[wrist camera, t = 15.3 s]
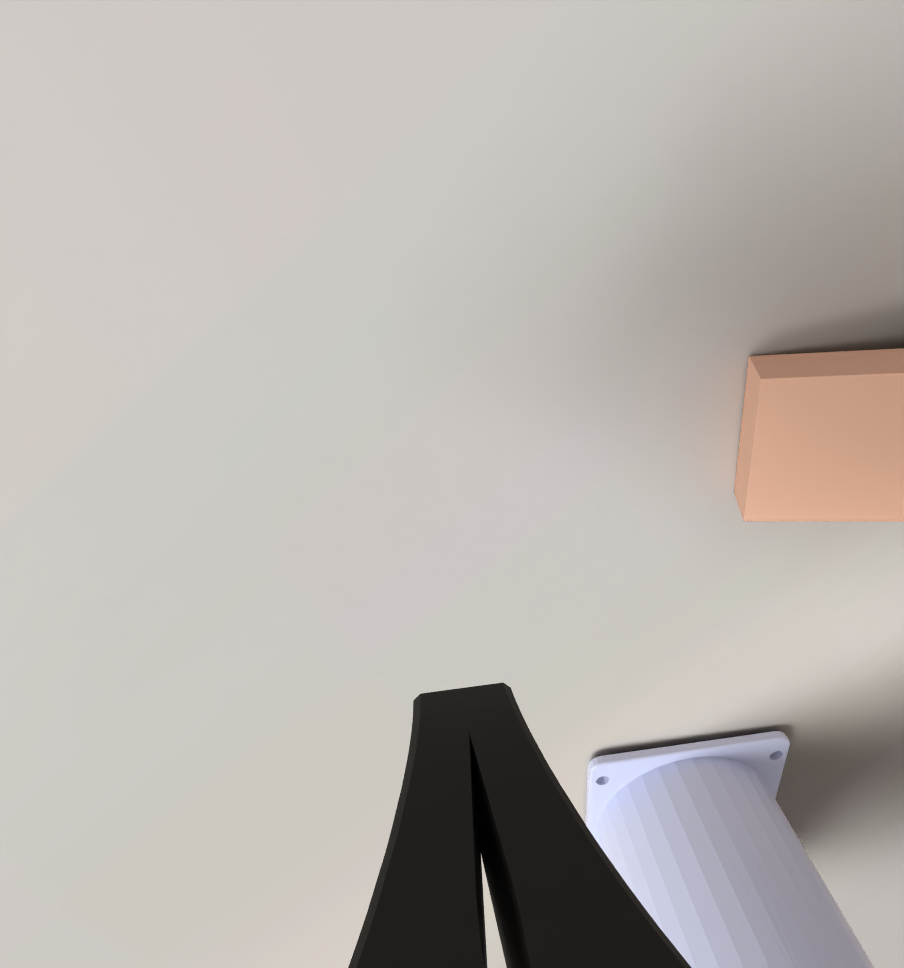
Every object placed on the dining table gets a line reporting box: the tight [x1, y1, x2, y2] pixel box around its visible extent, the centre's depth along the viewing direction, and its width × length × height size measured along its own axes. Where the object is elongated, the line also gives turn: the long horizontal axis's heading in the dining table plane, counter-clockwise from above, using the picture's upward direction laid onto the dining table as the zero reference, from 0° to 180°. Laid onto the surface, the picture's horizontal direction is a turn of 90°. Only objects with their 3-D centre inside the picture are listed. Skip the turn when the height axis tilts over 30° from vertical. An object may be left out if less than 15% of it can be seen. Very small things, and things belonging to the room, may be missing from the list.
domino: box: [734, 348, 904, 521], centre depth 18 cm, size 2×4×6 cm
